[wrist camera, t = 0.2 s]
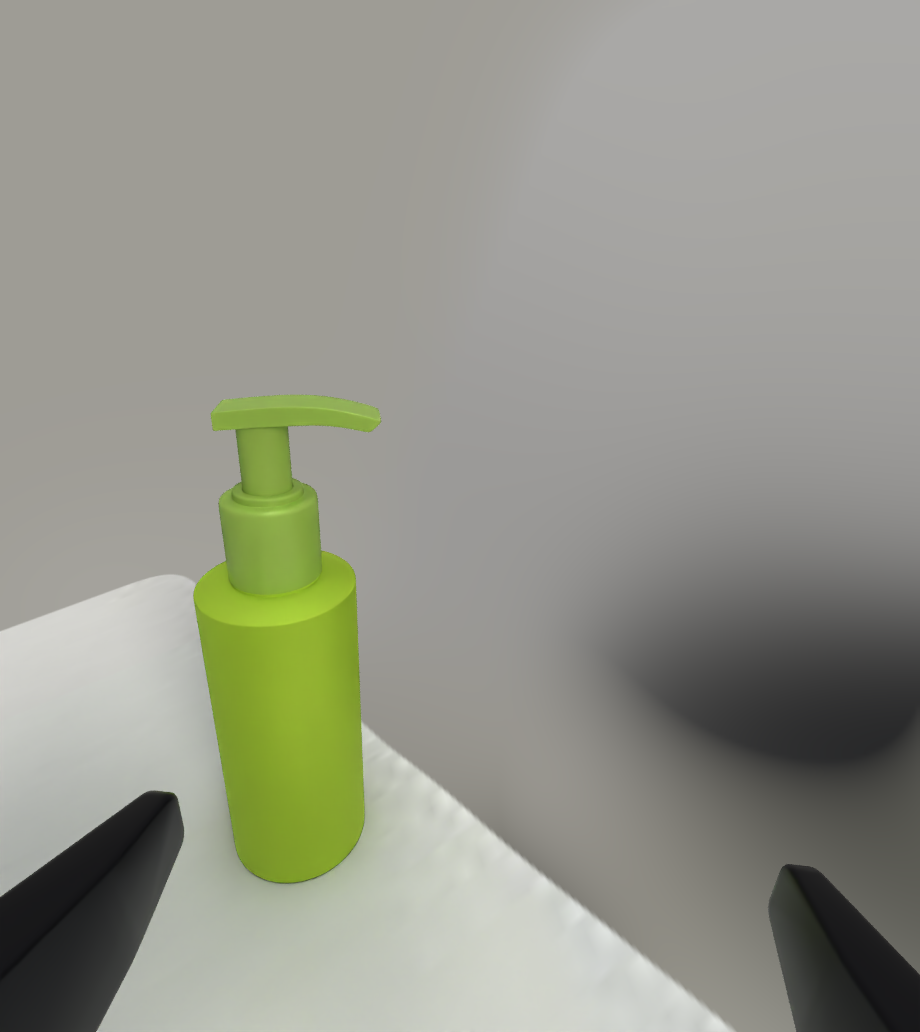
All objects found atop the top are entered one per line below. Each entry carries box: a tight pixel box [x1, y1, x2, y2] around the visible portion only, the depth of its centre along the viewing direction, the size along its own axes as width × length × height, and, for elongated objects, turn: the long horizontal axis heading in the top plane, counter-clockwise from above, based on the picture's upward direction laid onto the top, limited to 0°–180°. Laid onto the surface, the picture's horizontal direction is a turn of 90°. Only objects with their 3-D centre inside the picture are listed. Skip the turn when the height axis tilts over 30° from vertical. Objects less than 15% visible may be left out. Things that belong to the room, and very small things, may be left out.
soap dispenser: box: [193, 395, 381, 883], centre depth 23 cm, size 6×7×20 cm
